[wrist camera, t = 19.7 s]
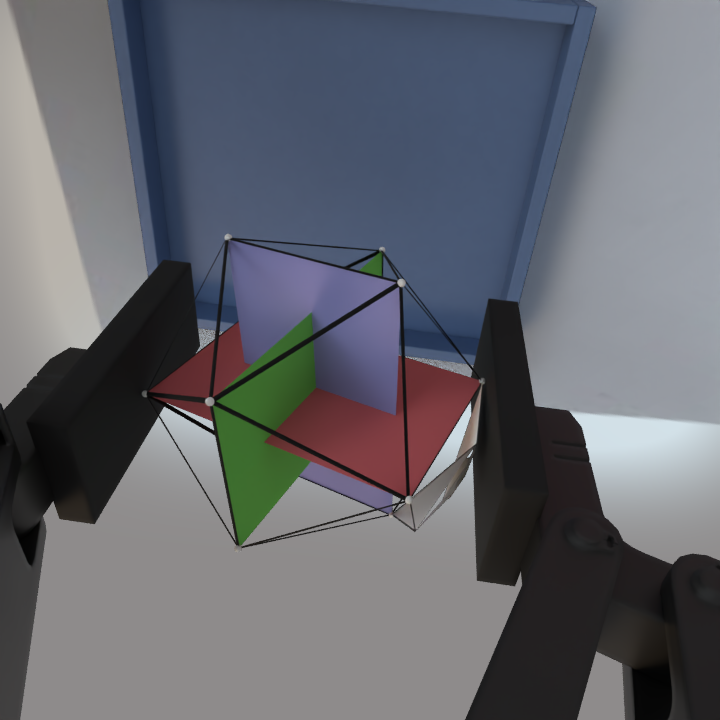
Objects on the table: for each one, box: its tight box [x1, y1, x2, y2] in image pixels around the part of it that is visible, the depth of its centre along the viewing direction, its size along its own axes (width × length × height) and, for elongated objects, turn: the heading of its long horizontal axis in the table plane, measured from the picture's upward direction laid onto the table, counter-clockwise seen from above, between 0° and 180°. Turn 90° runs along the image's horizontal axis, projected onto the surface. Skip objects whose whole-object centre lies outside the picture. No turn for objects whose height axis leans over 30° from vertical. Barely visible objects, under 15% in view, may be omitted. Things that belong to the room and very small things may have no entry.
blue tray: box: [108, 0, 597, 365], centre depth 26 cm, size 17×15×2 cm
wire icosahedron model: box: [142, 234, 485, 552], centre depth 14 cm, size 7×7×8 cm
